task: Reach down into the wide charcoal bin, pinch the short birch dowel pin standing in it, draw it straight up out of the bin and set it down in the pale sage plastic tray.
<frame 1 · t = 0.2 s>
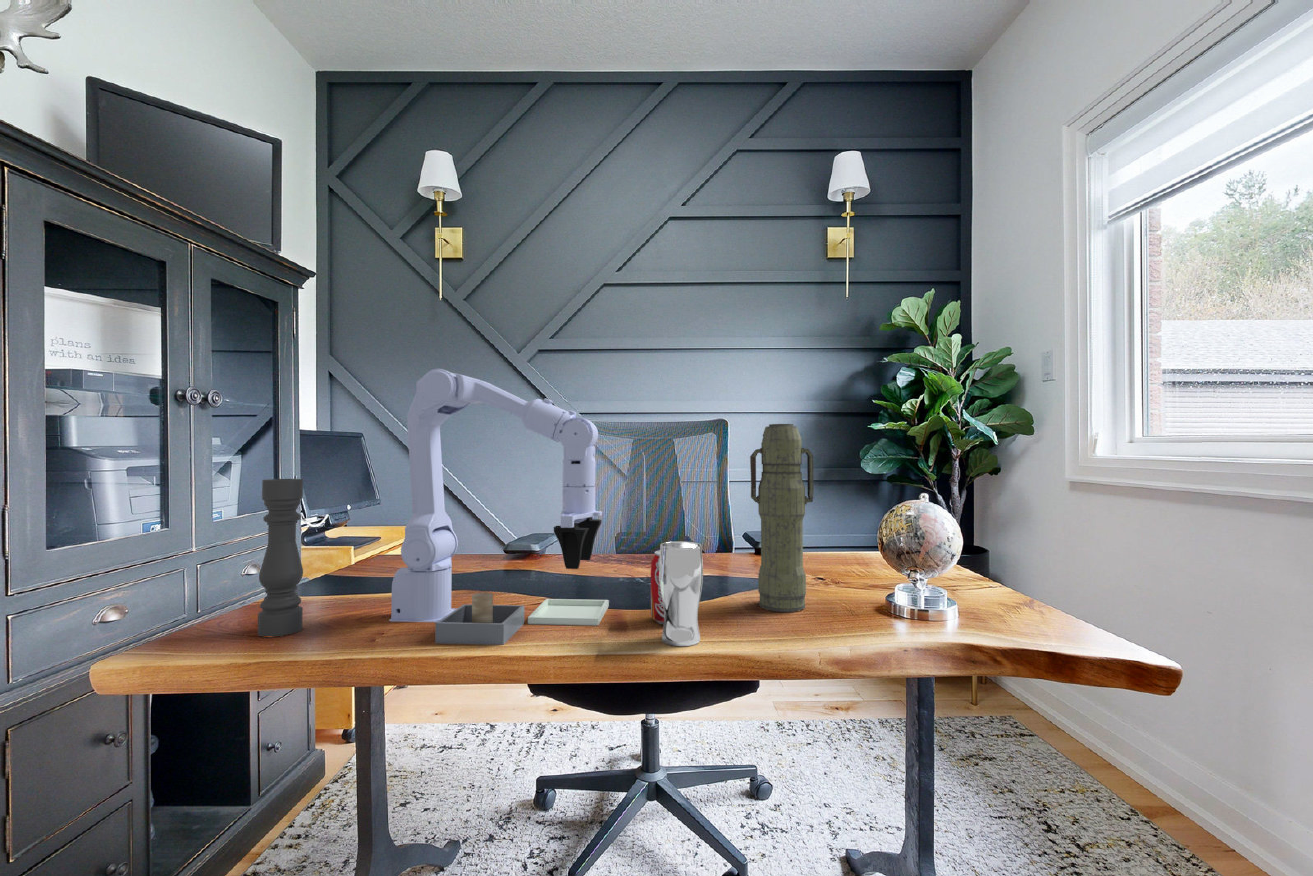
hand: (578, 564, 98), 10 cm above the table, tool pointing down, fingers open, 7 cm apart
soda can: (670, 622, 99), on the table
sage tray: (570, 617, 101), on the table
charcoal bin: (482, 635, 91), on the table
birch pin: (482, 632, 91), resting on charcoal bin
candle holder: (280, 632, 93), on the table
thermos: (781, 607, 108), on the table
beer glass: (680, 641, 89), on the table
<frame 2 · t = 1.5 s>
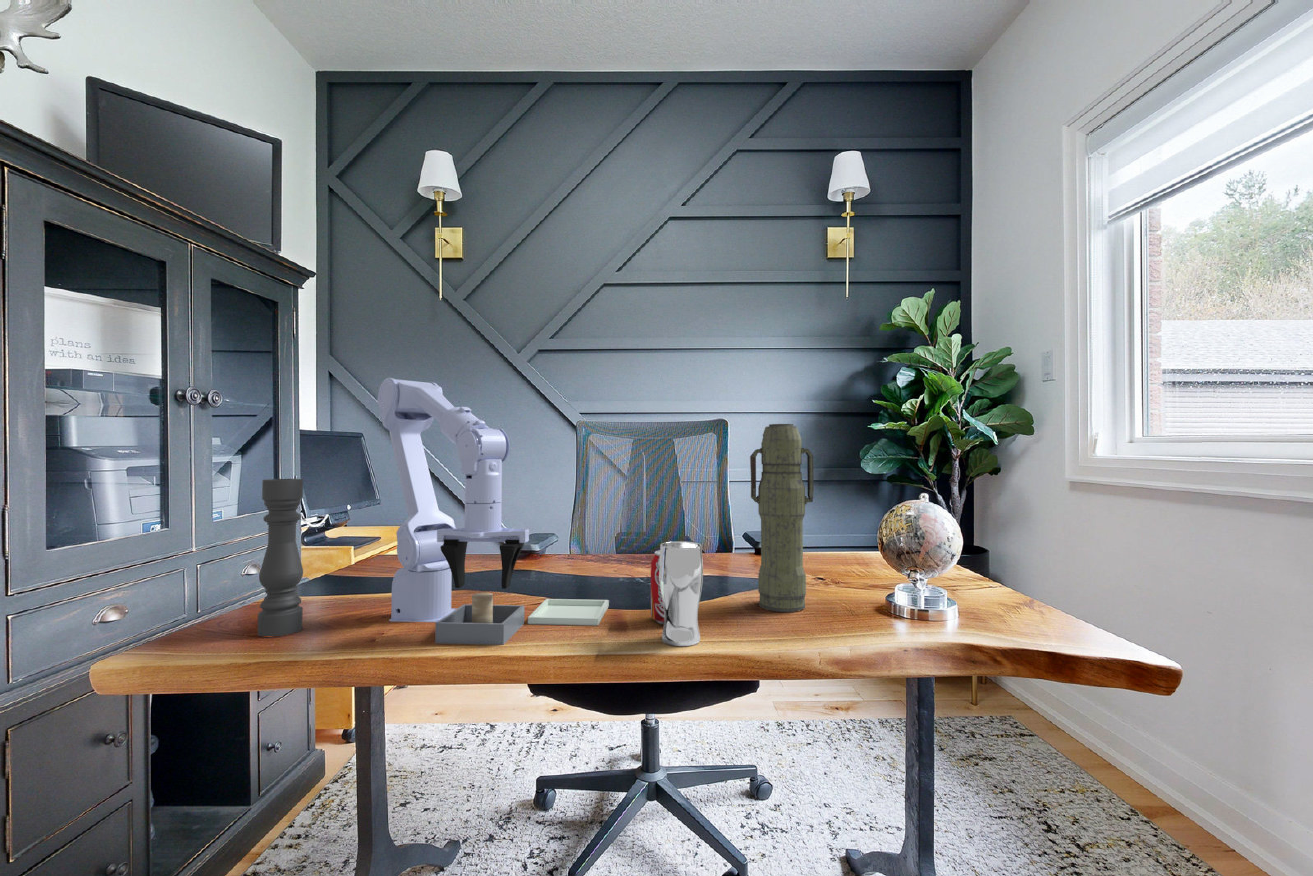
hand: (482, 587, 91), 8 cm above the table, tool pointing down, fingers open, 7 cm apart
nothing on the table moved.
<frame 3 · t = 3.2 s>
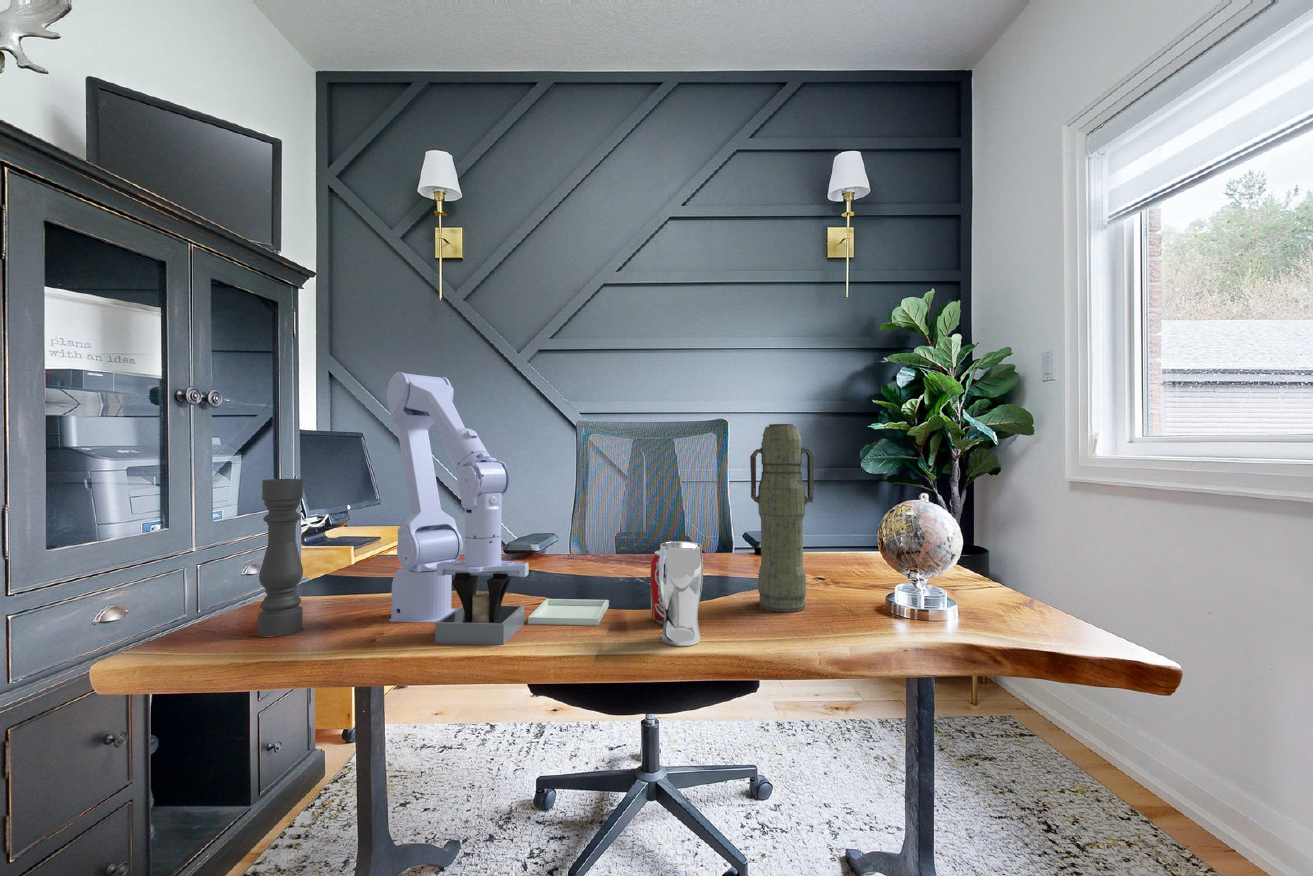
hand: (482, 620, 91), 2 cm above the table, tool pointing down, fingers closed on birch pin, 3 cm apart
birch pin: (482, 632, 91), resting on charcoal bin, touching gripper
everything else where it was.
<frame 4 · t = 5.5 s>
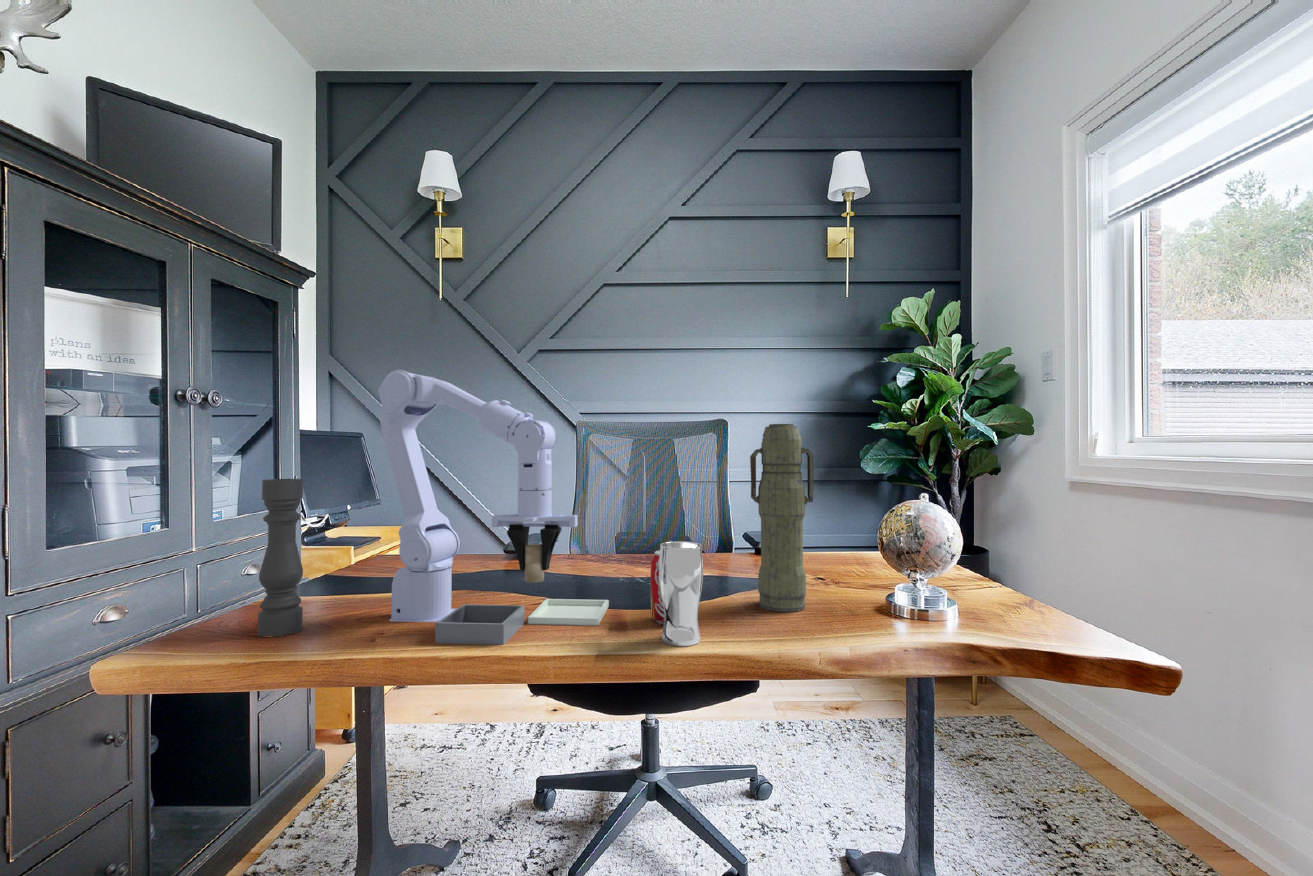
hand: (534, 569, 96), 9 cm above the table, tool pointing down, fingers closed on birch pin, 3 cm apart
birch pin: (534, 580, 96), point 8 cm above the table, touching gripper
everything else where it was.
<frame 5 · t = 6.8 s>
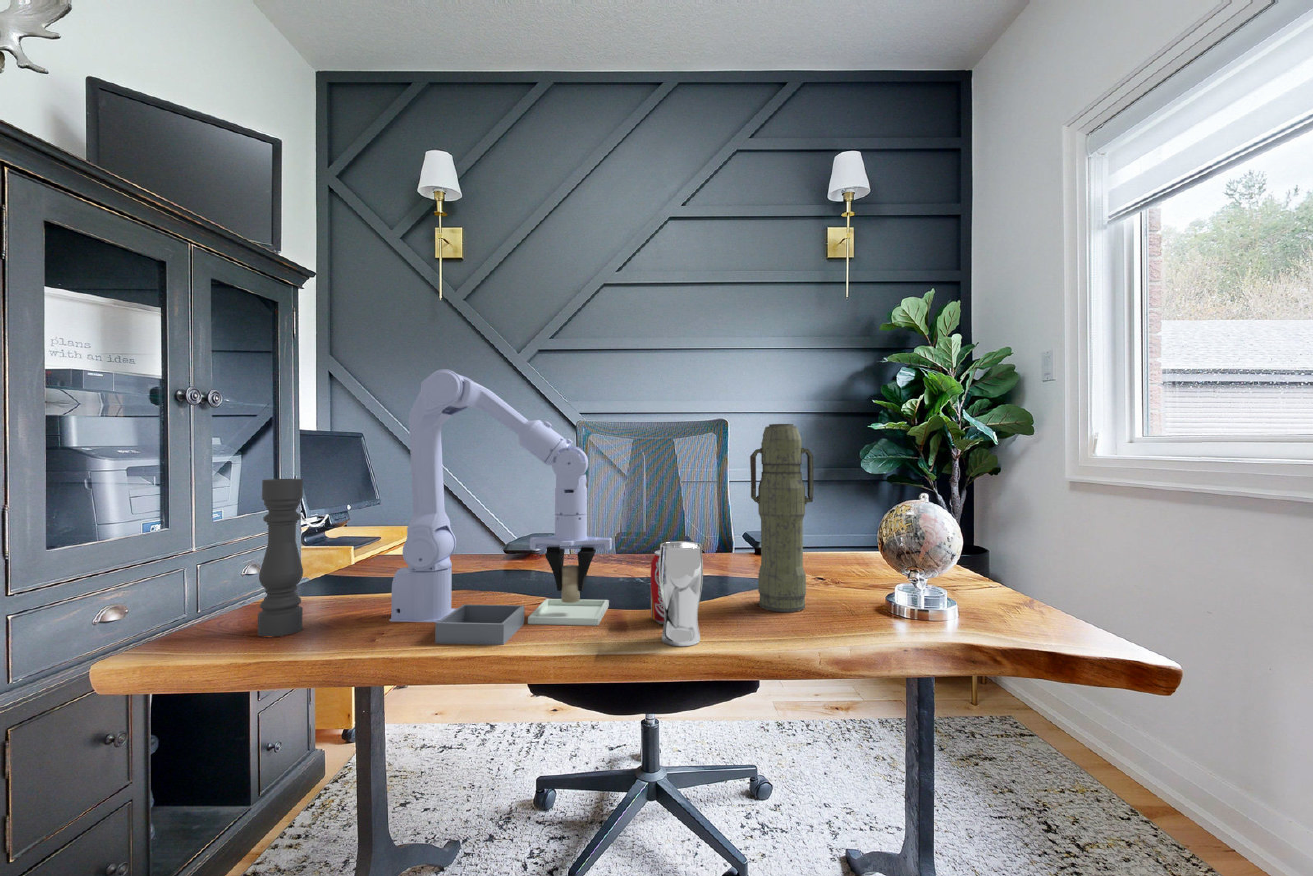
hand: (570, 589, 101), 5 cm above the table, tool pointing down, fingers closed on birch pin, 3 cm apart
birch pin: (570, 600, 101), point 3 cm above the table, touching gripper
everything else where it was.
when the fingers open (4 cm above the table, at t = 7.7 s): birch pin drops 2 cm, resting on sage tray.
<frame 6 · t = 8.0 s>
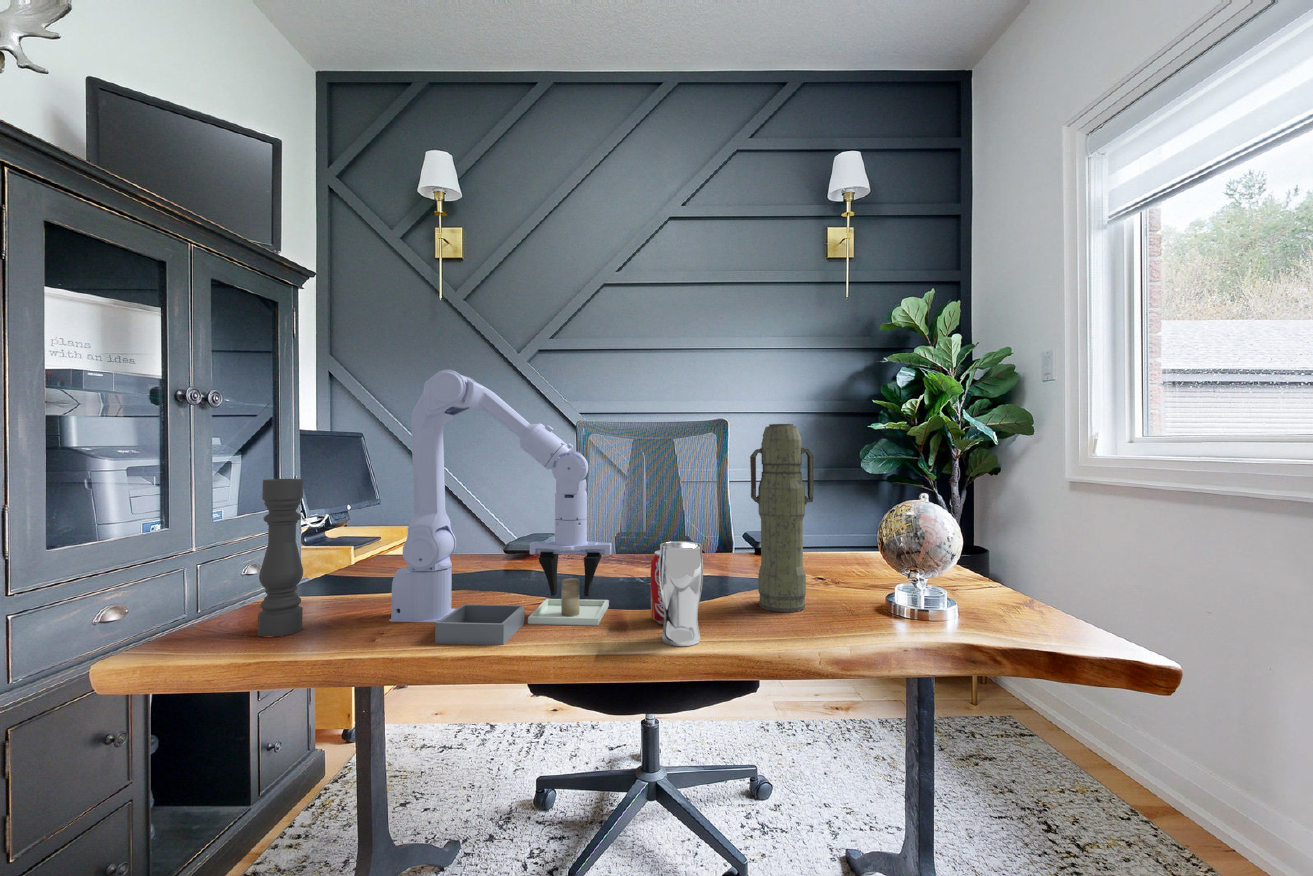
hand: (570, 594, 101), 4 cm above the table, tool pointing down, fingers open, 5 cm apart
birch pin: (570, 614, 101), point 1 cm above the table, touching sage tray
everything else where it was.
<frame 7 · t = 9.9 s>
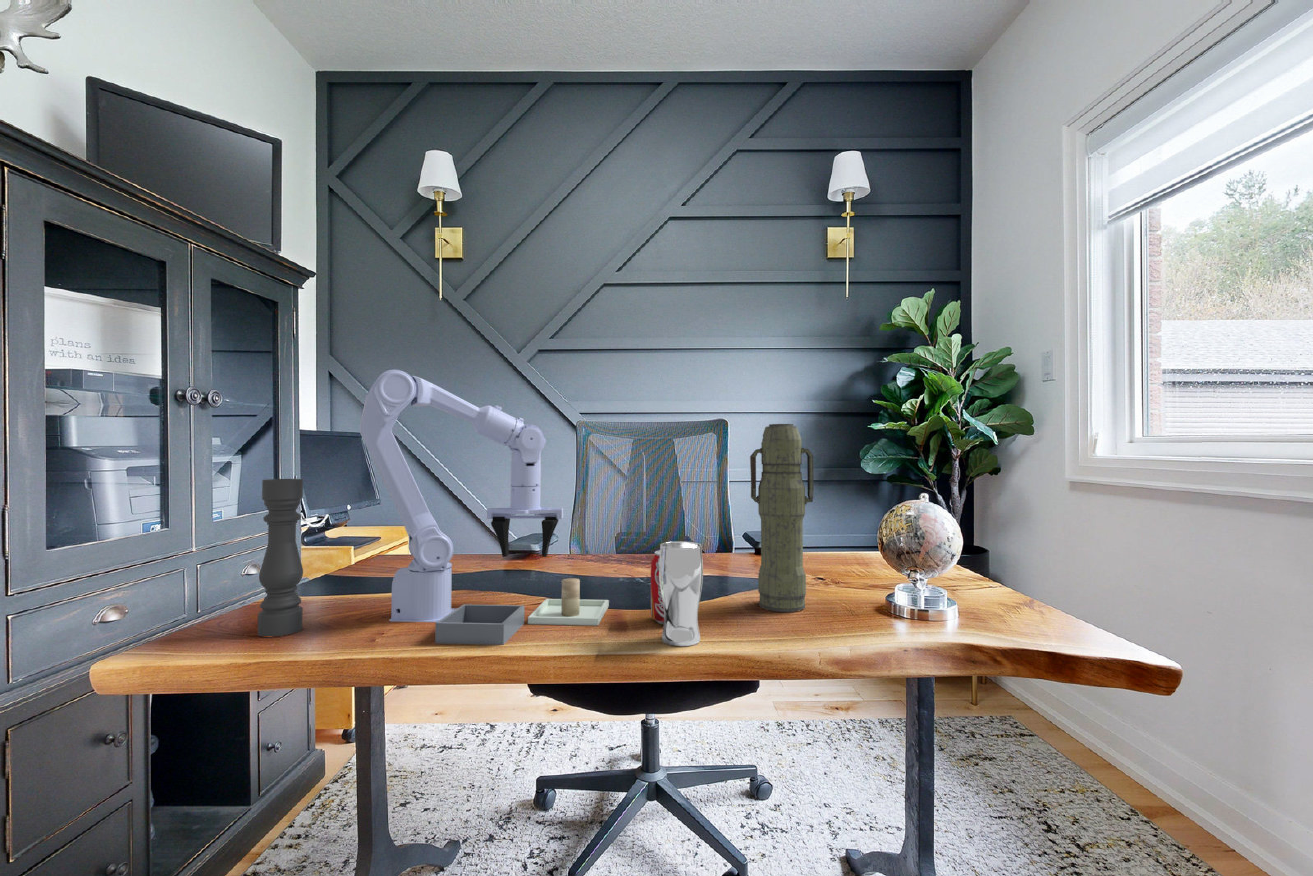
hand: (525, 556, 109), 9 cm above the table, tool pointing down, fingers open, 7 cm apart
nothing on the table moved.
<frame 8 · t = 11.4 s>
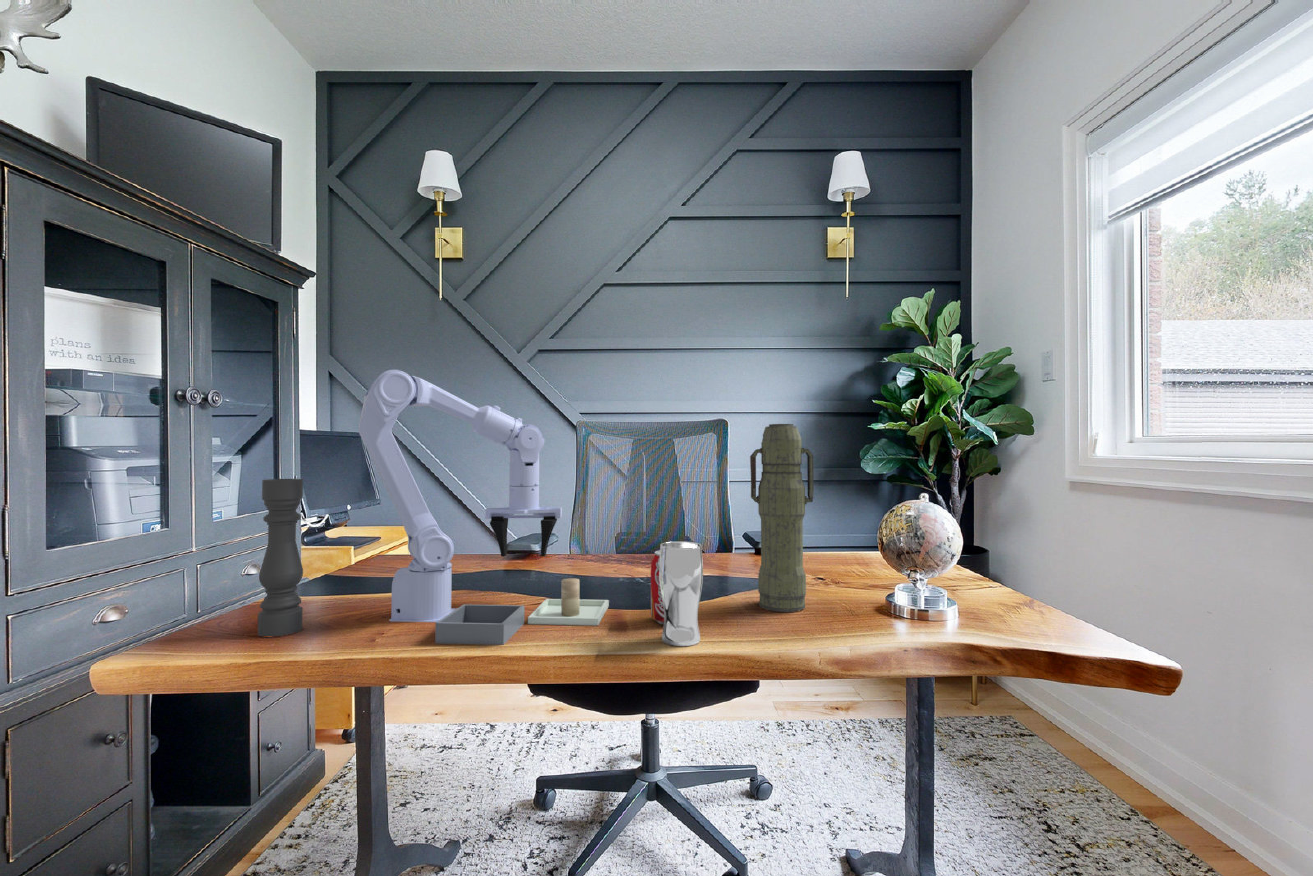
hand: (523, 555, 110), 9 cm above the table, tool pointing down, fingers open, 7 cm apart
nothing on the table moved.
at the end: birch pin inside the target area on the sage tray (0.1 cm from its centre), point 0.6 cm above the sage tray's base; birch pin touching sage tray; the gripper is holding nothing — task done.
